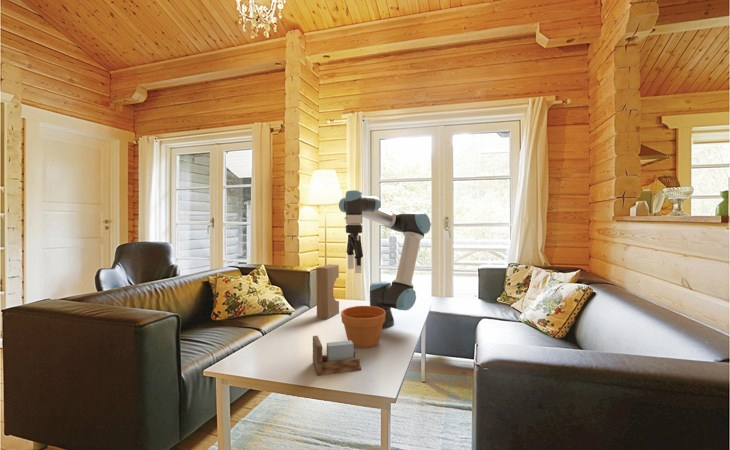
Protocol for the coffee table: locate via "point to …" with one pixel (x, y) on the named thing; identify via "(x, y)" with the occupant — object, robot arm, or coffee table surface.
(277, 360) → the coffee table surface
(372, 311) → the flower pot
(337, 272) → the decorative block
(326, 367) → the track
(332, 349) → the blue-gray rectangular block
